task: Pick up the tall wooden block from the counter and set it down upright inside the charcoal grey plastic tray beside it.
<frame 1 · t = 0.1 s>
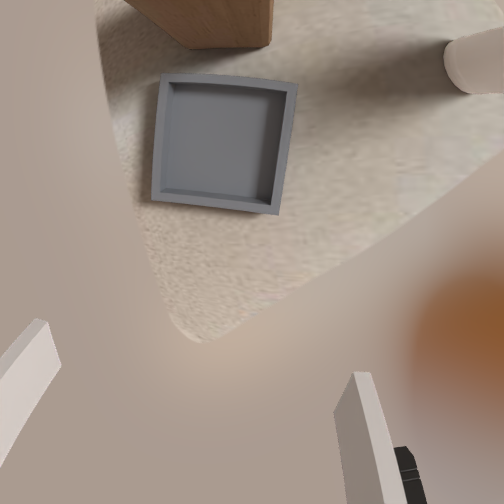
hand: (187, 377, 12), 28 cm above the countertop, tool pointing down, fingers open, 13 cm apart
bottle: (464, 66, 28), on the countertop
wooden block: (228, 13, 28), on the countertop
tray: (223, 139, 34), on the countertop
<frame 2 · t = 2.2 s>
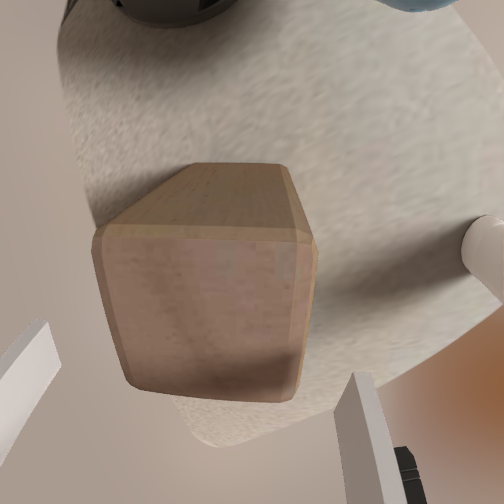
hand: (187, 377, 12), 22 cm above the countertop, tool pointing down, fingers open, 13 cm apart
bottle: (481, 242, 32), on the countertop
wooden block: (237, 209, 32), on the countertop
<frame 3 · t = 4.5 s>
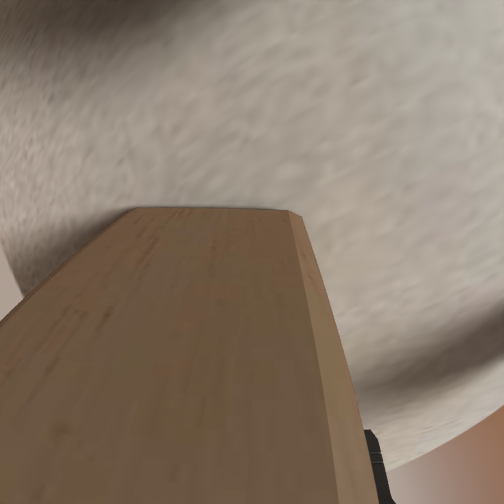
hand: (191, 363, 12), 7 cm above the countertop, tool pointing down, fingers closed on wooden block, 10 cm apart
wooden block: (215, 282, 19), on the countertop, touching gripper
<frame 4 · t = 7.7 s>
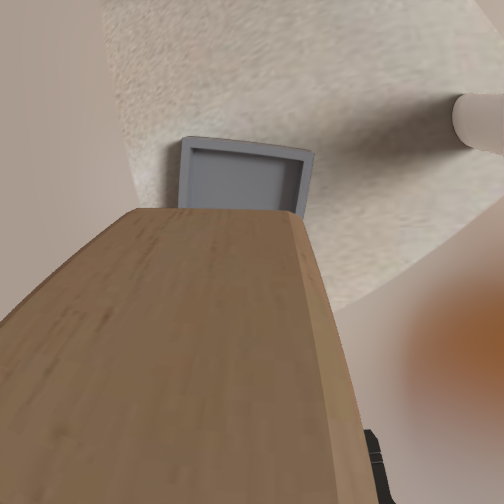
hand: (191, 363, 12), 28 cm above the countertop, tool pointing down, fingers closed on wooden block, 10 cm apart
bottle: (471, 120, 32), on the countertop
wooden block: (215, 282, 19), point 21 cm above the countertop, touching gripper
tray: (242, 199, 38), on the countertop
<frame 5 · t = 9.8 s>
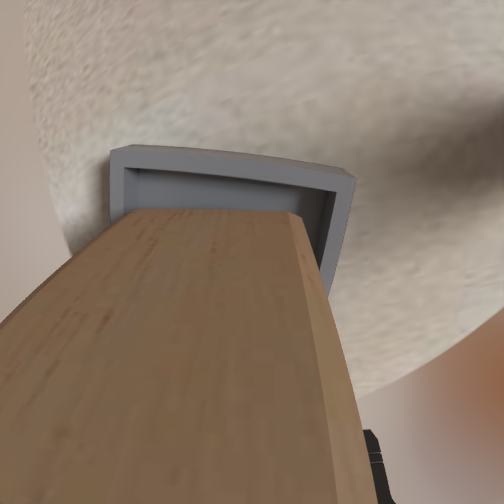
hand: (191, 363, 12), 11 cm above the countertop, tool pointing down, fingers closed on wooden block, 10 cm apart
wooden block: (215, 283, 19), point 4 cm above the countertop, touching gripper
tray: (224, 252, 23), on the countertop
when the fingers open (9 cm above the countertop, at t = 11.1 s): wooden block drops 1 cm, resting on tray.
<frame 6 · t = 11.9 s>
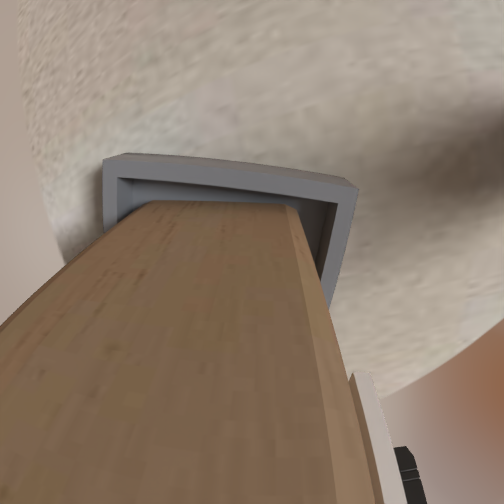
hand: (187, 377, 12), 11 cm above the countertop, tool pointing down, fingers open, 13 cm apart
wooden block: (219, 268, 21), point 1 cm above the countertop, touching tray
tray: (221, 264, 22), on the countertop
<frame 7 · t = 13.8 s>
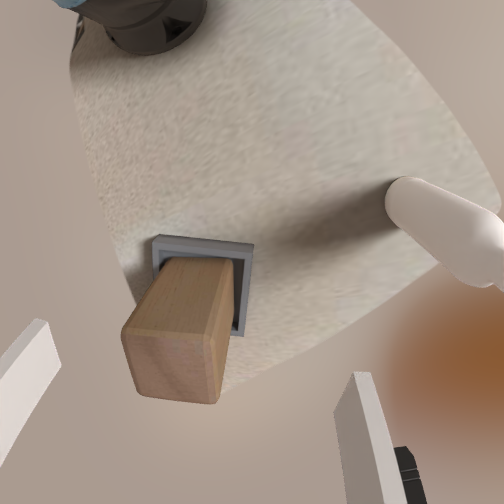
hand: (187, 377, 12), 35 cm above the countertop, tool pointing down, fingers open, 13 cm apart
bottle: (406, 200, 43), on the countertop
wooden block: (202, 284, 49), point 1 cm above the countertop, touching tray
tray: (203, 281, 49), on the countertop
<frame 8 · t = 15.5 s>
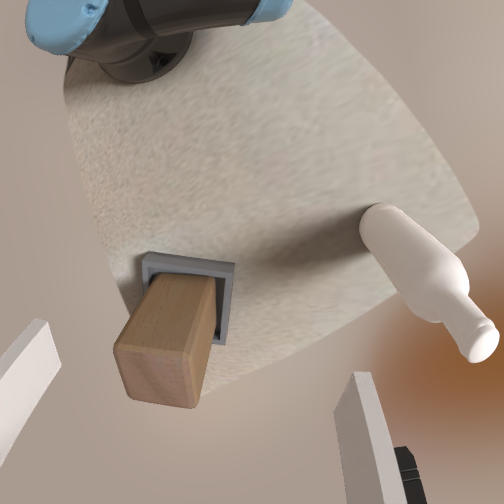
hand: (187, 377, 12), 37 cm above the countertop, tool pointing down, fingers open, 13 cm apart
bottle: (380, 225, 47), on the countertop
wooden block: (188, 297, 53), point 1 cm above the countertop, touching tray
tray: (189, 294, 53), on the countertop
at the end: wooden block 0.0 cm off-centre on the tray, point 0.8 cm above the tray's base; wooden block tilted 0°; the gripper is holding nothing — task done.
